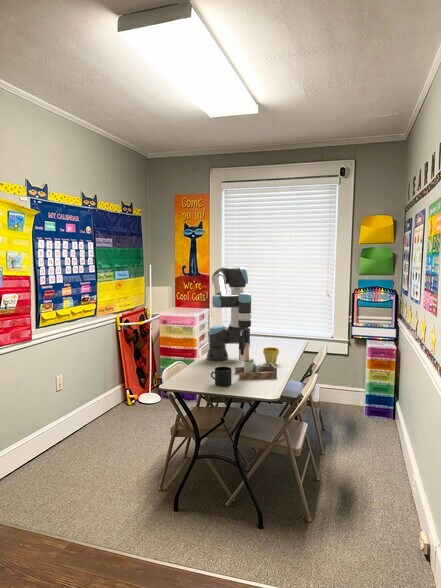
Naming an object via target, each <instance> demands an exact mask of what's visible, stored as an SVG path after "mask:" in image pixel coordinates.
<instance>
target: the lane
mask: <svg viewBox="0 0 441 588" xmlns="http://www.w3.org/2000/svg"><path fill="white" fill-rule="evenodd" d="M234 373H235V374H238V379H239V380H256V379H257V380H259V379H276V378H278V374H277V373H278V367H276V365H275V364H272V363H271V362H269V364H268V365H261V368H258V372H254V373H244V366H236V367H234Z"/></svg>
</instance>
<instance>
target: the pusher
mask: <svg viewBox="0 0 441 588" xmlns="http://www.w3.org/2000/svg"><path fill="white" fill-rule="evenodd" d="M261 366H262V365H261V364H260V363H257V362H256V361H255V360H254V372H258V368H261Z"/></svg>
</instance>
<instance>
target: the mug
mask: <svg viewBox="0 0 441 588" xmlns="http://www.w3.org/2000/svg"><path fill="white" fill-rule="evenodd" d="M213 374H214V376H213ZM210 377H211V379H212V380H214V385H215V386H216V387H221V388H226V387H230V386H231V385H232V367H230V366H216V367H215V368H214V371H212V372H211V373H210Z"/></svg>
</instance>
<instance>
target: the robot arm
mask: <svg viewBox="0 0 441 588" xmlns="http://www.w3.org/2000/svg"><path fill="white" fill-rule="evenodd" d="M211 276H212V277H211V283H212V285H213V288H214V295H212V298H211V299H212V300H211V301H212V302H211V303H212V308H216V309H220V308H221V309H222V308H227V309H229V308H230V323H229V324H228V327H227V326H226V325H224V324H220V325H214V326H211V327H209V329H208V330H209V331H208V338H209V340H208V341H209V347H208V350H207V354H206V360H208V361H212V362H223V361H227V360H228V359H229V354H228V351H227V345H229V344H230V345H231V344H233V345H235V344H237V345H238V350H239V349H240V360H245V349H244V348H245V342H247V343H249V347H251V344H250V343H251V328H250V327H251V326H252V321H251V319H252V316H253V314H252V300H253V299H252V294H251V293H249V292H244V289H245V288H246V286H247V285H248V284H249V278H248V271H247V269H246V268H245V267H241V266H234V267H233V266H231V267H230V266H229V267H227V266H224V267H220V268H218V269H216V270H215V272H214V273H213V274H212V275H211ZM227 285H228V287H229V288H230V294H228V292H227ZM240 360H239V361H240Z"/></svg>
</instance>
